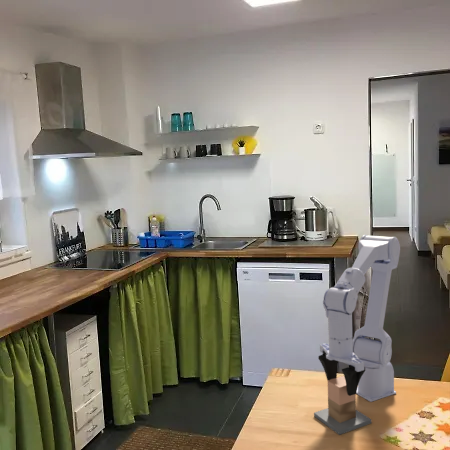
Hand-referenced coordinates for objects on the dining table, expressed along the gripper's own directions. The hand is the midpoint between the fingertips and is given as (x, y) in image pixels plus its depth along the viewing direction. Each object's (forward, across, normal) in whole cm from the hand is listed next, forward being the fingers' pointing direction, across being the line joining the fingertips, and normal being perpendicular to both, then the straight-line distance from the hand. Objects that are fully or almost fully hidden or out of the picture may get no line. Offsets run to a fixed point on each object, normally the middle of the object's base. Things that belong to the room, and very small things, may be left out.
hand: (341, 388), depth 124 cm
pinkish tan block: (+3, 0, 0) cm, 3 cm away
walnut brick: (+7, 0, 0) cm, 7 cm away
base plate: (+8, 0, 0) cm, 8 cm away
